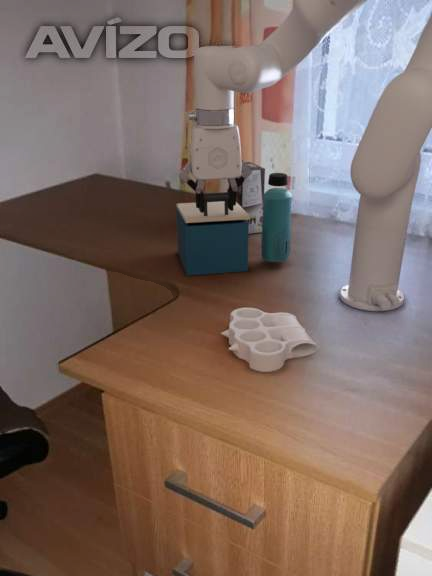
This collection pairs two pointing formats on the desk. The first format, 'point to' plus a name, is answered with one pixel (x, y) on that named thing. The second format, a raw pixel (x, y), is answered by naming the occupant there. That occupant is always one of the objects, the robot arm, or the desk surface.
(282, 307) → the desk surface
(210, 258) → the box
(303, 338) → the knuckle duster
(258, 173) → the coffee box
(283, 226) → the beverage bottle
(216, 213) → the cooler lid
